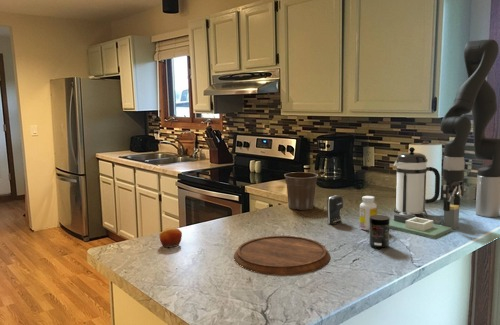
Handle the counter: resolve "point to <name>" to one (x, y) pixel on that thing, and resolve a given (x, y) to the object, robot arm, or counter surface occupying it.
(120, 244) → the counter surface
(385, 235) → the supplement container
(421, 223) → the header board
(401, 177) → the coffee press
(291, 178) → the plant pot
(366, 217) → the supplement bottle
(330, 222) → the battery charger
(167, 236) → the fruit
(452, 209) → the plug
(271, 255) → the cutting board
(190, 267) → the counter surface
